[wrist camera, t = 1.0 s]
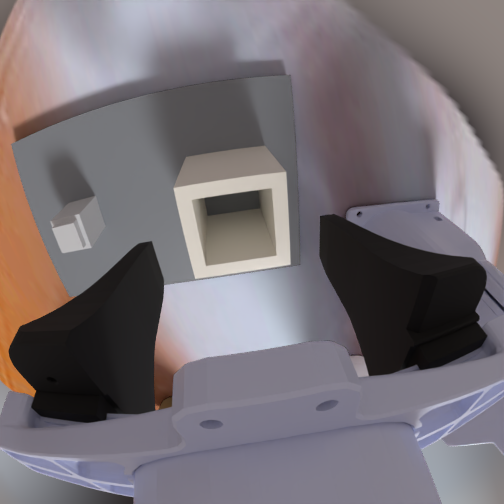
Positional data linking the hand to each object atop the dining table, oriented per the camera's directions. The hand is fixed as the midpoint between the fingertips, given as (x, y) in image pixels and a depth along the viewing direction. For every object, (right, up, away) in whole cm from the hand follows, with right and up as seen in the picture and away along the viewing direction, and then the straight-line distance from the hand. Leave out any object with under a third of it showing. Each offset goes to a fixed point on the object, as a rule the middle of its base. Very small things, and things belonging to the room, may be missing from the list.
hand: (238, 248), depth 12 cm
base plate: (-6, +4, +7) cm, 10 cm away
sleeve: (-1, +4, +7) cm, 8 cm away
